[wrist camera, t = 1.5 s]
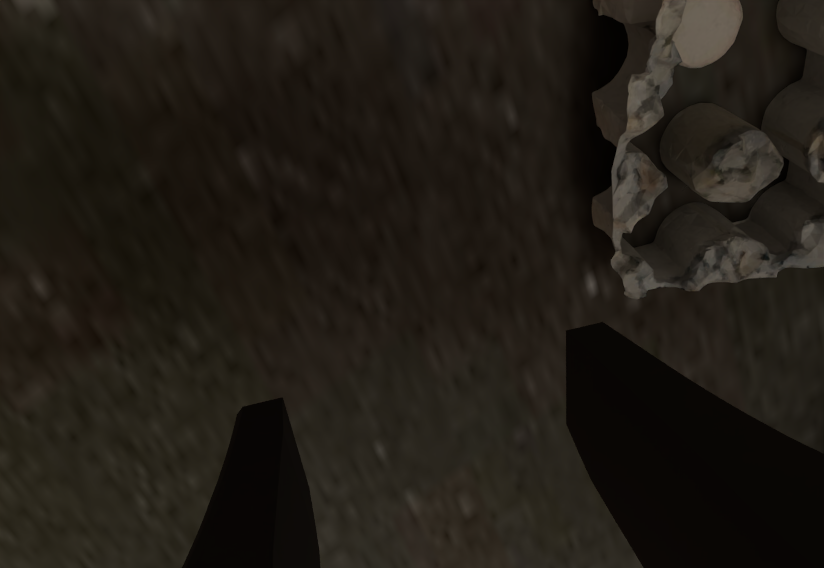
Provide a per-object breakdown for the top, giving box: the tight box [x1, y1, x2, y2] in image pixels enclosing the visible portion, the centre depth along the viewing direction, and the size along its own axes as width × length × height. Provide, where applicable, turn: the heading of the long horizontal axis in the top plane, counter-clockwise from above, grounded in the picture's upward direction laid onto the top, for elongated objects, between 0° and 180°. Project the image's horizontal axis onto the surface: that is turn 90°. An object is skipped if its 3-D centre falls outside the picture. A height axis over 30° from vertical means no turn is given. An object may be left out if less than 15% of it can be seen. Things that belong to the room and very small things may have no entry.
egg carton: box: [591, 0, 824, 299], centre depth 20 cm, size 11×8×4 cm
